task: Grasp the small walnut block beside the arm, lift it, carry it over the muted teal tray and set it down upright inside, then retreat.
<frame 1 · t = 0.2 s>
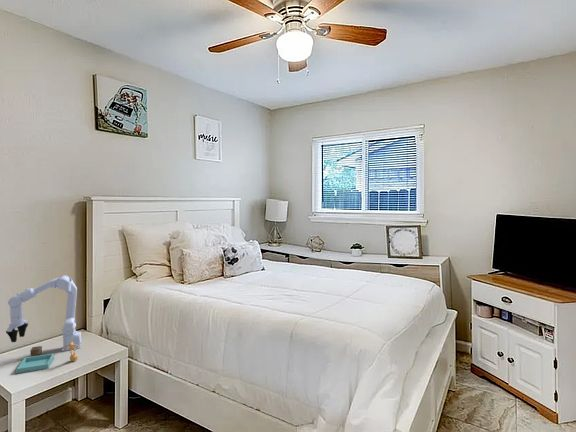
hand: (18, 339, 206), 10 cm above the nightstand, tool pointing down, fingers open, 7 cm apart
walnut block: (36, 356, 206), on the nightstand
teal tray: (36, 365, 195), on the nightstand
figurine: (73, 362, 199), on the nightstand
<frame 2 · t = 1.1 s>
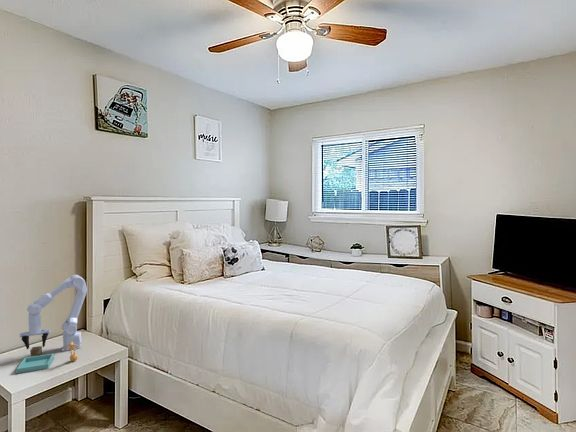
hand: (35, 347, 206), 5 cm above the nightstand, tool pointing down, fingers open, 7 cm apart
nothing on the nightstand moved.
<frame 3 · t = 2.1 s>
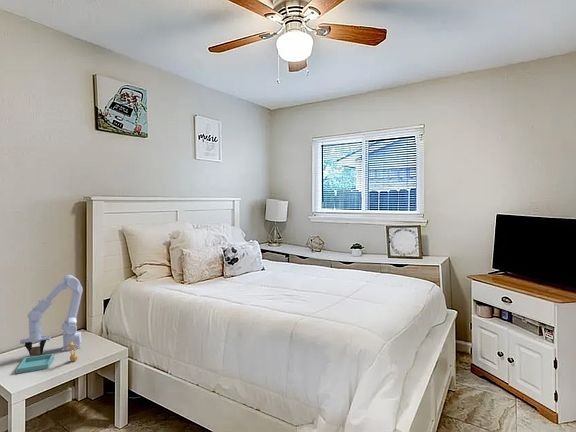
hand: (36, 354, 206), 1 cm above the nightstand, tool pointing down, fingers closed on walnut block, 4 cm apart
walnut block: (36, 356, 206), on the nightstand, touching gripper
everything else where it was.
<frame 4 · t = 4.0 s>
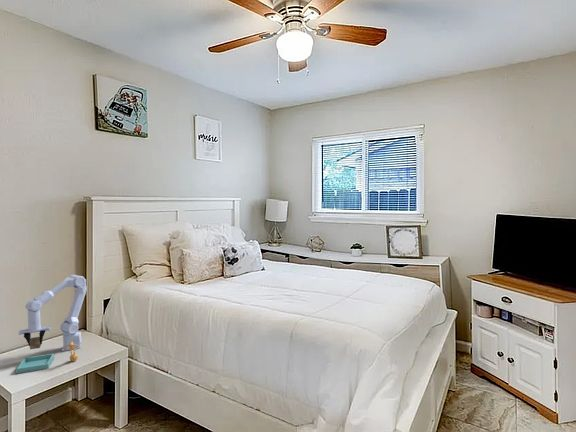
hand: (35, 344, 202), 8 cm above the nightstand, tool pointing down, fingers closed on walnut block, 4 cm apart
walnut block: (35, 347, 202), point 7 cm above the nightstand, touching gripper
everything else where it was.
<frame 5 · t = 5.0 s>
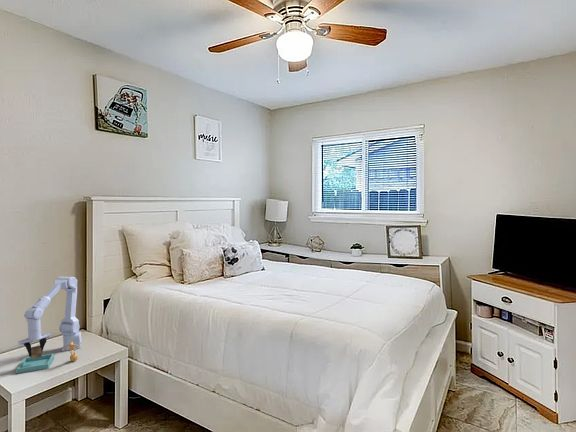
hand: (35, 354, 195), 6 cm above the nightstand, tool pointing down, fingers closed on walnut block, 4 cm apart
walnut block: (35, 356, 195), point 5 cm above the nightstand, touching gripper
everything else where it was.
when the fingers open (3 cm above the nightstand, at t = 6.0 s): walnut block stays where it is, resting on teal tray.
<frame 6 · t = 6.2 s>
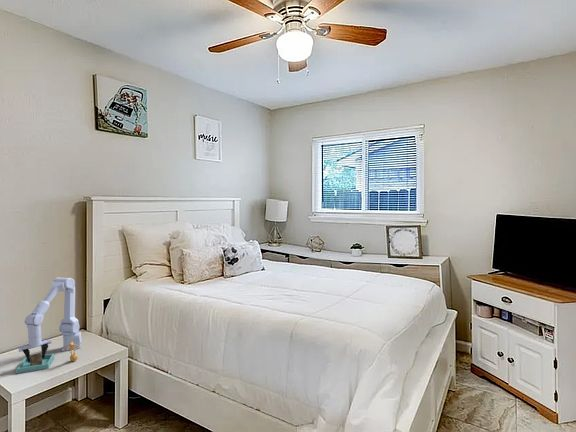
hand: (36, 360, 195), 3 cm above the nightstand, tool pointing down, fingers open, 6 cm apart
walnut block: (36, 364, 195), resting on teal tray
everything else where it was.
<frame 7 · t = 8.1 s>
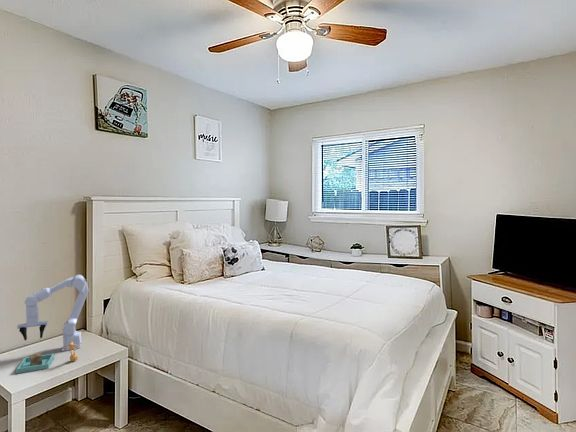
hand: (33, 338, 208), 9 cm above the nightstand, tool pointing down, fingers open, 7 cm apart
nothing on the nightstand moved.
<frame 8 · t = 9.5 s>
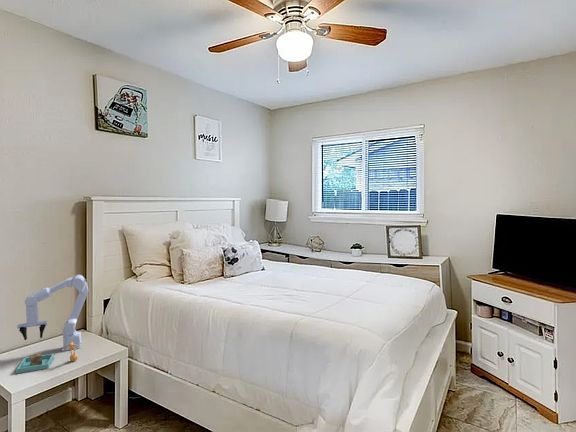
hand: (33, 338, 208), 9 cm above the nightstand, tool pointing down, fingers open, 7 cm apart
nothing on the nightstand moved.
at the end: walnut block inside the target area on the teal tray (0.2 cm from its centre), point 0.4 cm above the teal tray's base; walnut block tilted 0°; the gripper is holding nothing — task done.
